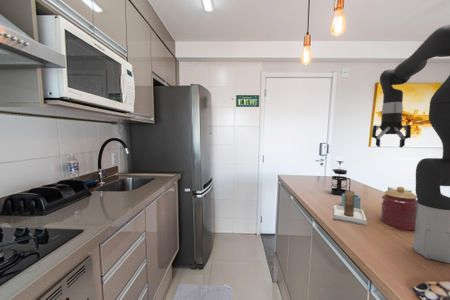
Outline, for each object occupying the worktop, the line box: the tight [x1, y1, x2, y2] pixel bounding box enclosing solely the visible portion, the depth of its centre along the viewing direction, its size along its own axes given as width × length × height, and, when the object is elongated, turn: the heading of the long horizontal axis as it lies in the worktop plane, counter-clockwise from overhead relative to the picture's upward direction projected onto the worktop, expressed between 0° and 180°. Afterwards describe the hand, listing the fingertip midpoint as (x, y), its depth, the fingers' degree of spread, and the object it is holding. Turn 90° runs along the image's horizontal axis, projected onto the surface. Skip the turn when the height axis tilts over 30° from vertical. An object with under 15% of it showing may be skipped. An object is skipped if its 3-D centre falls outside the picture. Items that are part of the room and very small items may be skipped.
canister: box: [380, 186, 417, 231], centre depth 92 cm, size 13×13×18 cm
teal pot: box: [341, 193, 361, 209], centre depth 114 cm, size 9×9×7 cm
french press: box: [330, 160, 351, 197], centre depth 138 cm, size 12×9×23 cm
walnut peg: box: [344, 190, 355, 217], centre depth 101 cm, size 4×4×12 cm
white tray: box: [333, 205, 368, 226], centre depth 102 cm, size 15×13×2 cm
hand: (389, 147), depth 97 cm, fingers open, 8 cm apart
